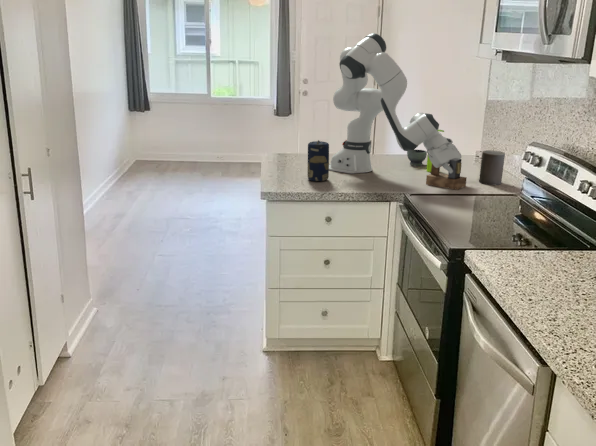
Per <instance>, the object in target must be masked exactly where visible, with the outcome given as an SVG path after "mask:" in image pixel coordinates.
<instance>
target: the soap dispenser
mask: <svg viewBox="0 0 596 446" xmlns="http://www.w3.org/2000/svg"><path fill="white" fill-rule="evenodd" d="M437 131H438V132H439V133H441V132H442V133H445V130H443V129H438V130H437ZM426 158H427V159H426V172H427V173H431V168H432V162H431V161H430V159H429V157H428V156H426Z"/></svg>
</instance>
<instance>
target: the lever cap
mask: <svg viewBox="0 0 596 446" xmlns="http://www.w3.org/2000/svg"><path fill="white" fill-rule="evenodd" d="M462 163H463V162H462V158H461V159H458V158H454V159H451V160H450V162H449V166H450V167H451V168H453V170H454V172H453V173H451V174H450V173H449V172H448V173H447V174H448V178H449V179H458V178H460V177H461V173H462Z"/></svg>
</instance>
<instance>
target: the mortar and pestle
mask: <svg viewBox="0 0 596 446" xmlns="http://www.w3.org/2000/svg"><path fill="white" fill-rule="evenodd" d="M406 156H407V158H408V160H409V161H410V162H409V165H410V166H413V167H421V166H423V162H424V161H425V160H426V158H427V156H428V153H427V150H424V149H417V148H415V149H414V150H413V151H406Z"/></svg>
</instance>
